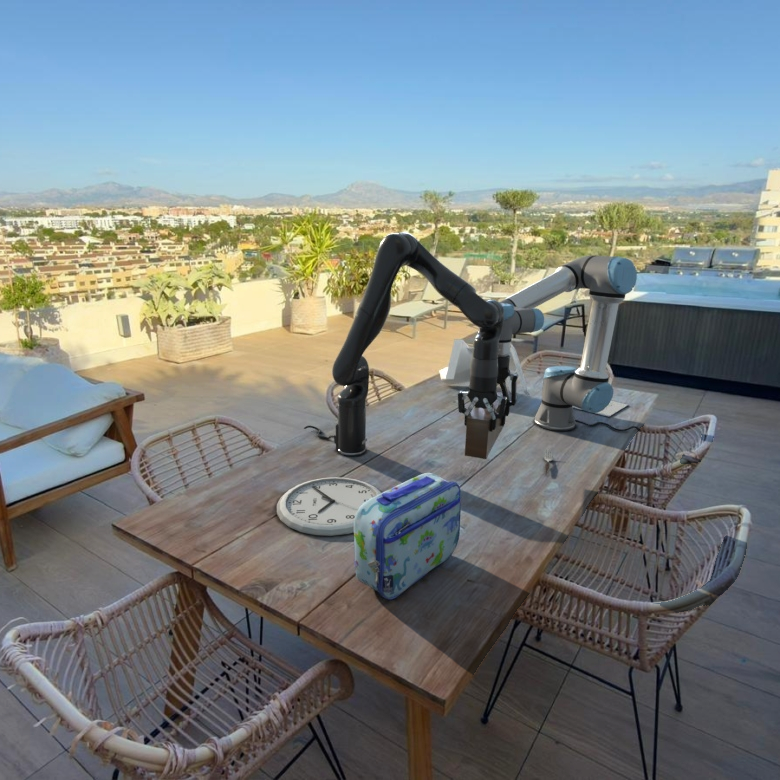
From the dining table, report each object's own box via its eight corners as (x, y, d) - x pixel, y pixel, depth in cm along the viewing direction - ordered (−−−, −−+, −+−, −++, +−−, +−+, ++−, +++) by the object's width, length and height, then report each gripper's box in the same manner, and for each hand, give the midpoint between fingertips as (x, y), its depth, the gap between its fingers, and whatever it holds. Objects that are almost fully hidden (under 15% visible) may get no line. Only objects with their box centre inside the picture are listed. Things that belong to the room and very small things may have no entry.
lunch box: (382, 612, 103) (384, 519, 97) (347, 586, 110) (346, 498, 104) (464, 557, 121) (469, 475, 114) (429, 538, 128) (432, 460, 122)
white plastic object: (461, 429, 252) (437, 405, 227) (444, 352, 274) (420, 323, 250) (535, 404, 240) (518, 377, 215) (510, 326, 262) (492, 293, 237)
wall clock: (392, 527, 129) (268, 531, 127) (391, 533, 130) (269, 537, 127) (383, 473, 158) (282, 475, 155) (383, 478, 158) (282, 480, 156)
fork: (541, 474, 162) (542, 468, 162) (545, 454, 177) (545, 449, 176) (550, 476, 162) (550, 470, 161) (553, 456, 176) (553, 450, 175)
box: (484, 424, 175) (487, 390, 172) (503, 426, 173) (506, 393, 169) (464, 455, 151) (466, 417, 147) (486, 459, 148) (489, 420, 145)
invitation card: (608, 416, 214) (573, 407, 224) (608, 416, 214) (573, 408, 224) (628, 404, 229) (594, 396, 238) (628, 405, 229) (594, 397, 238)
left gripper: (455, 373, 145) (452, 429, 150) (507, 379, 140) (502, 437, 145) (462, 367, 151) (458, 421, 156) (512, 372, 146) (507, 428, 151)
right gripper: (464, 353, 163) (460, 422, 170) (527, 359, 156) (520, 431, 163) (470, 348, 170) (466, 415, 177) (530, 354, 163) (524, 423, 170)
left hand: (479, 428), depth 151 cm, fingers closed on box, 6 cm apart
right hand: (492, 423), depth 170 cm, fingers closed on box, 6 cm apart
